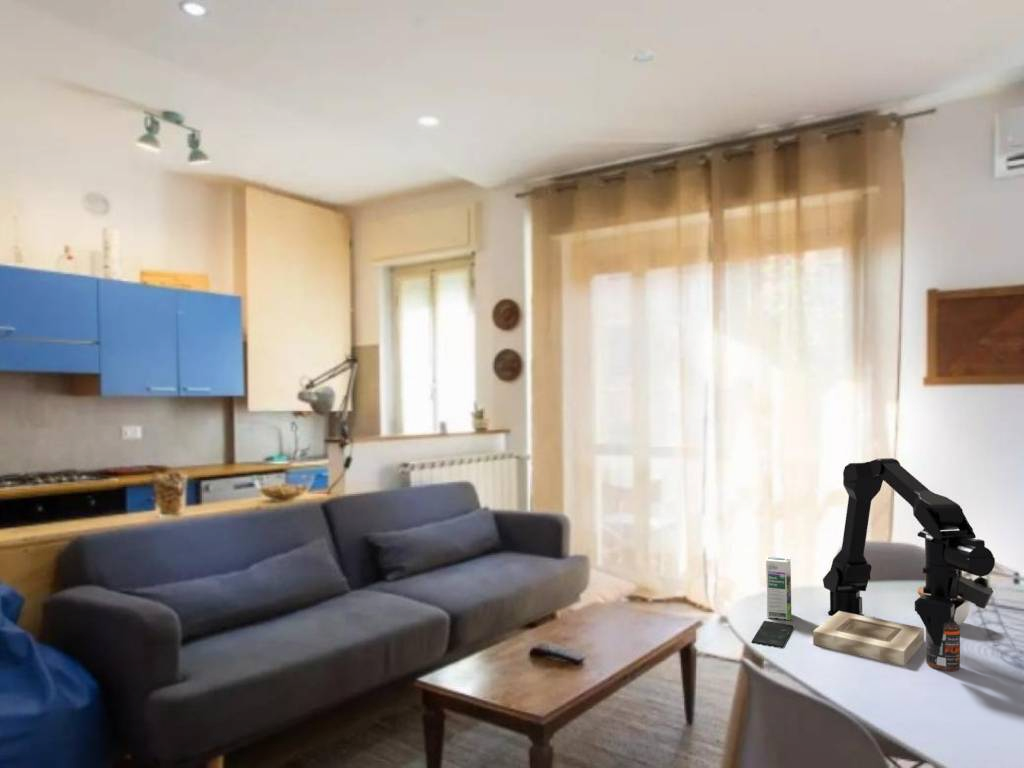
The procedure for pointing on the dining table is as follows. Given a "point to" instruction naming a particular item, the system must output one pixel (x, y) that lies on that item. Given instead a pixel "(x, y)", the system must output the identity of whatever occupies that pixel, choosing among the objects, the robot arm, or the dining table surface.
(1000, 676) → the dining table surface
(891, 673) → the dining table surface
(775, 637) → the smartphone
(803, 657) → the dining table surface
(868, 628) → the maple socket board
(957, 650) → the supplement bottle
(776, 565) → the syrup box
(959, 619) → the lidded jar
